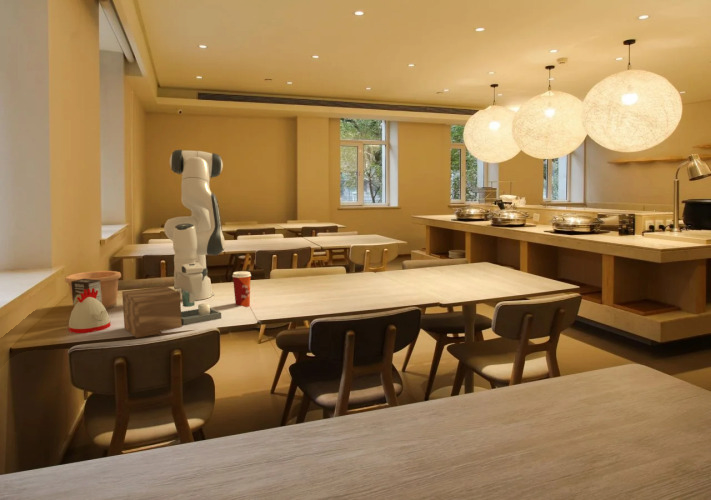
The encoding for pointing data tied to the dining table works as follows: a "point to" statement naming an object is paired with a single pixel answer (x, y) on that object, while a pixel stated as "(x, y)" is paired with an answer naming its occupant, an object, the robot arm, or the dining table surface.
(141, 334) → the wood grain block
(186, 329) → the dining table surface
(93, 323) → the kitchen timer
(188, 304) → the teal short cylinder
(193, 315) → the tray
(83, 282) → the coffee box
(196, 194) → the robot arm
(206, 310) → the cream rounded cylinder
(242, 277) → the coffee cup
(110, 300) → the pottery
